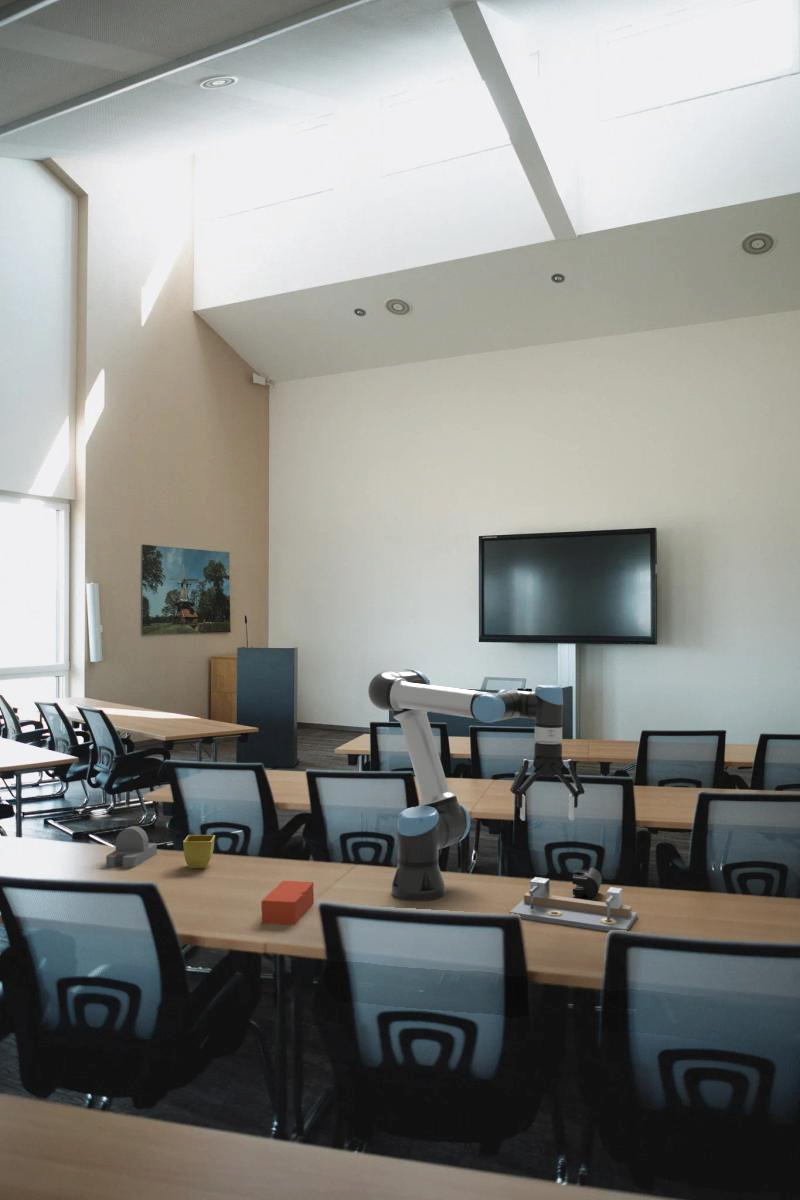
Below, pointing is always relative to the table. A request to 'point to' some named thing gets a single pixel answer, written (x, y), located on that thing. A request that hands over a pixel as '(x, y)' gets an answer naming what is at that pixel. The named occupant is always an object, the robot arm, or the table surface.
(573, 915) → the board
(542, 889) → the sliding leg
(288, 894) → the brick
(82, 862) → the table surface
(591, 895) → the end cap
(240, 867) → the table surface
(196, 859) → the flower pot
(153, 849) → the bracket
